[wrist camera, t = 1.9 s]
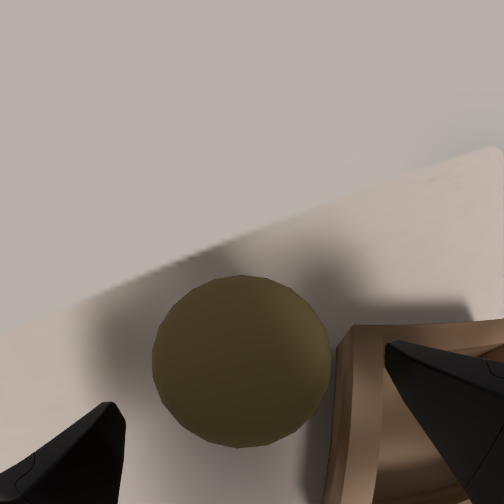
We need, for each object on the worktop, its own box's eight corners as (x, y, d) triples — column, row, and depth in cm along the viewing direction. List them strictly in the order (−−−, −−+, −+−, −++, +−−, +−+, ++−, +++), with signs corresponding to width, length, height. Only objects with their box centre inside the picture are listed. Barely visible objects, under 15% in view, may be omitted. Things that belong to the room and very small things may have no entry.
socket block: (477, 489, 8) (515, 494, 5) (318, 524, 10) (329, 552, 6) (482, 340, 15) (518, 317, 11) (336, 347, 17) (353, 324, 13)
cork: (308, 342, 17) (344, 238, 8) (310, 436, 14) (364, 464, 5) (213, 343, 17) (141, 245, 8) (208, 435, 14) (108, 448, 5)
